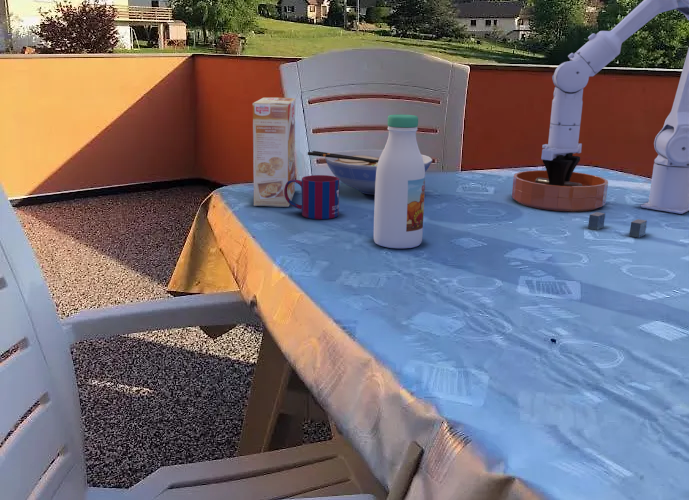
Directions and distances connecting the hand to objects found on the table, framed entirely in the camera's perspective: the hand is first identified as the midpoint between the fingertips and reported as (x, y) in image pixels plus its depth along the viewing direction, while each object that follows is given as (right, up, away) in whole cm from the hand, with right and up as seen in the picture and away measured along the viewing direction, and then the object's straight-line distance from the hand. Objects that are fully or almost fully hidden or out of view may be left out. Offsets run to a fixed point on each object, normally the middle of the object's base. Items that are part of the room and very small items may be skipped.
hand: (558, 191), depth 143 cm
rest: (+4, -9, -21) cm, 23 cm away
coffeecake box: (-57, -2, -1) cm, 57 cm away
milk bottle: (-35, -11, -31) cm, 48 cm away
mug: (-49, -5, -13) cm, 51 cm away
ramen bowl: (-36, +1, +8) cm, 37 cm away
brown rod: (0, +1, 0) cm, 1 cm away
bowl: (0, -2, +1) cm, 2 cm away
